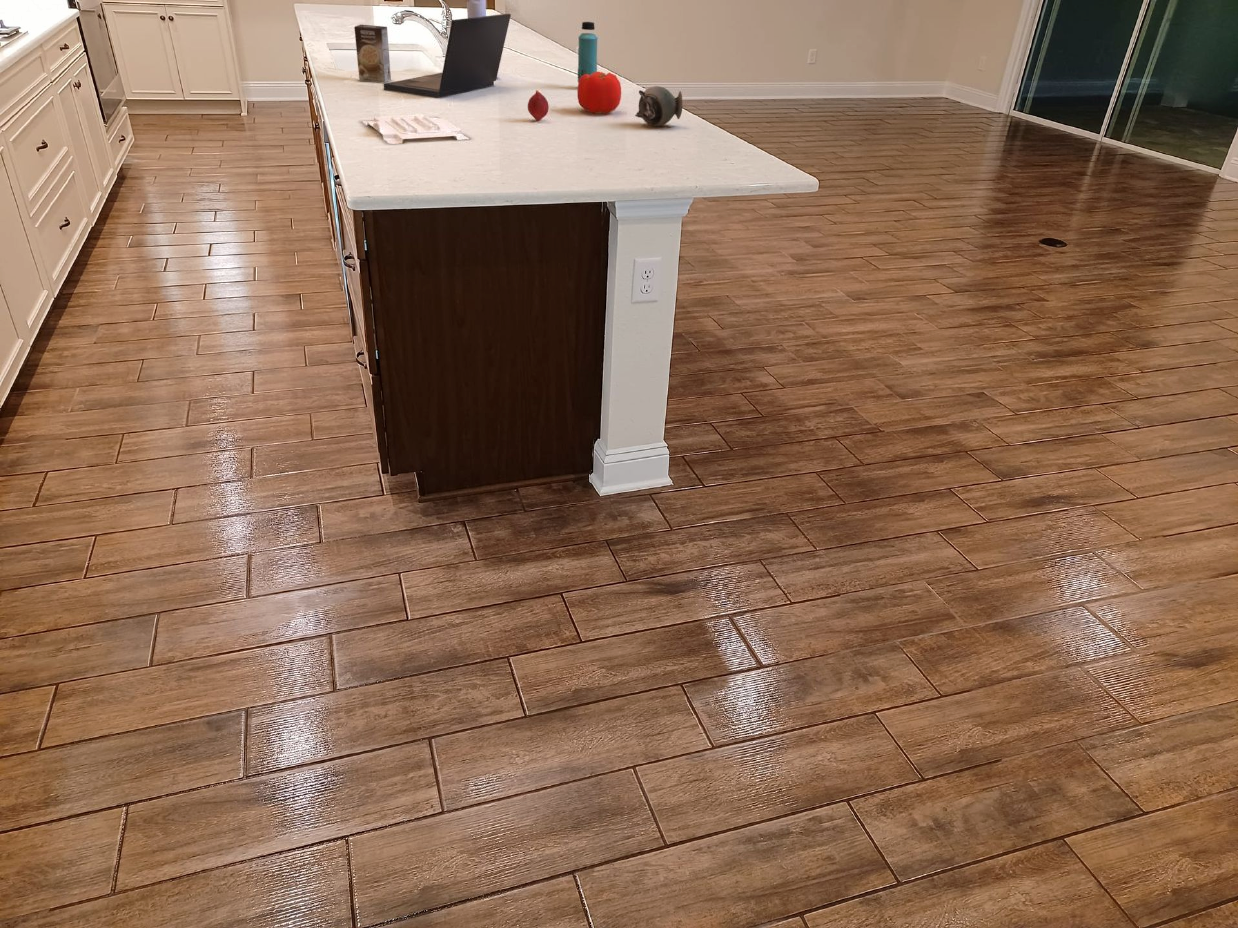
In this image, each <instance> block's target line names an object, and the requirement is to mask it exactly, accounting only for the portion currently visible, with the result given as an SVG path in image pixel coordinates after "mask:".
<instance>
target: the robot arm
mask: <svg viewBox="0 0 1238 928" xmlns="http://www.w3.org/2000/svg"><path fill="white" fill-rule="evenodd" d="M466 11H467V12H466V13H467V18H474V17H483V16H487V1H486V0H466ZM497 79H499V76H497V78H496V80H497Z"/></svg>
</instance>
